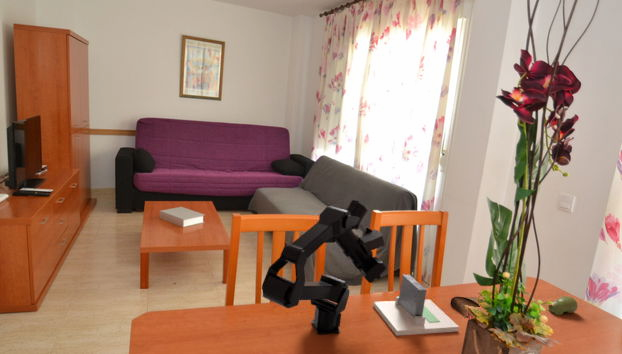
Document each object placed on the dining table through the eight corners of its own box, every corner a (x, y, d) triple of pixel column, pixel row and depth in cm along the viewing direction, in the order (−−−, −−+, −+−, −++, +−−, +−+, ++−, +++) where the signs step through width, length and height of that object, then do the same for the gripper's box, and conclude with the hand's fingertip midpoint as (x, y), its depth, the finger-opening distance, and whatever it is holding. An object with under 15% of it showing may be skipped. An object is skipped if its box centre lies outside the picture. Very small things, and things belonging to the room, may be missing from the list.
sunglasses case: (464, 318, 128) (461, 295, 131) (451, 318, 135) (449, 296, 137) (513, 316, 133) (509, 295, 135) (499, 316, 139) (495, 296, 141)
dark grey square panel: (413, 322, 119) (419, 290, 117) (397, 304, 129) (402, 274, 127) (421, 321, 120) (426, 289, 118) (404, 304, 129) (409, 274, 127)
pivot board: (396, 335, 115) (398, 322, 114) (373, 306, 130) (375, 294, 129) (458, 331, 121) (460, 318, 120) (429, 303, 136) (431, 292, 135)
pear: (582, 300, 137) (558, 306, 135) (580, 314, 139) (557, 320, 136) (567, 292, 143) (544, 298, 140) (566, 305, 144) (543, 311, 141)
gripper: (384, 234, 105) (416, 273, 111) (357, 212, 123) (385, 247, 128) (351, 263, 105) (385, 301, 110) (329, 237, 122) (359, 271, 127)
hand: (379, 278), depth 119 cm, fingers closed
